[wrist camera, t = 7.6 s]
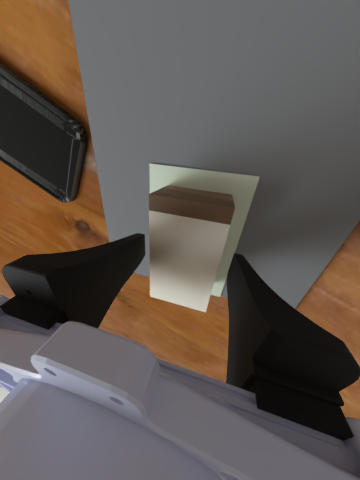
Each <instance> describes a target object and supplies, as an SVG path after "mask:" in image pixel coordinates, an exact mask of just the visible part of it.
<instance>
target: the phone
mask: <svg viewBox="0 0 360 480" xmlns="http://www.w3.org/2000/svg"><path fill="white" fill-rule="evenodd" d="M86 147H87V134H86V132H85V129H84V127H83V126H82V124H81V123H80V122H79V121H77V120H76V119H75V118H73V117H72V116H71V115H69V114H68V113H67V112H66V111H65V110H63V109H62V108H60V107H59V106H57V105H56V104H55V103H54V102H53V101H52V100H50V99H49V98H48V97H46V96H45V95H43V94H41V92H40V91H38V90H37V89H36V88H34V87H33V86H32V85H29V84H28V83H26V82H25V81H24V80H22V79H21V78H19V77H18V76H17V75H15V74H14V73H13V72H11V71H10V70H9V69H7V68H6V67H5V66H3V65H2V64H1V63H0V160H1V161H2V162H4V163H5V164H6V165H8V166H9V167H11V168H12V169H14V170H15V171H17V172H18V173H20V174H21V175H23V176H24V177H25V178H27V179H28V180H30V181H31V182H33V183H34V184H36V185H37V186H39V187H40V188H42V189H43V190H44V191H46V192H47V193H49V194H50V195H52V196H53V197H55V198H56V199H58V200H59V201H61V202H64V203H66V202H70V201H73V200H75V199H76V196H77V192H78V187H79V182H80V177H81V172H82V167H83V162H84V157H85V152H86Z"/></svg>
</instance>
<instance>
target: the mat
mask: <svg viewBox="0 0 360 480" xmlns="http://www.w3.org/2000/svg"><path fill="white" fill-rule="evenodd" d="M68 2H69V8H70V13H71V19H72V25H73V31H74V37H75V43H76V49H77V55H78V60H79V66H80V72H81V78H82V84H83V90H84V96H85V102H86V108H87V113H88V119H89V125H90V131H91V137H92V143H93V149H94V155H95V161H96V166H97V172H98V178H99V184H100V190H101V196H102V202H103V208H104V214H105V219H106V225H107V231H108V237H109V243H110V242H113V241H116V240H119V239H121V238H124V237H127V236H130V235H133V234H136V233H140V234H145V256H144V258H143V260H142V262H141V263H140V265H139V266H138V267H137V269H136V270H135V271H134V272H133V273H136V274H140V275H143V276H147V277H150V254H149V194H150V169H149V164H159V165H167V166H176V167H184V168H193V169H201V170H209V171H218V172H226V173H235V174H243V175H252V176H259V177H260V178H259V181H258V184H257V187H256V190H255V193H254V196H253V199H252V202H251V205H250V208H249V211H248V214H247V217H246V220H245V223H244V226H243V229H242V232H241V235H240V238H239V241H238V244H237V248H236V251H235V253H236V254H241V255H243V256H244V257H245V258H246V260H247V261H248V262H249V264H250V265H251V266H252V268H253V269H254V270H255V271H256V273H257V274H258V275H259V276H260V277H261V278H262V279H263V281H264V282H265V283H266V284H267V285H268V286H269V287H270V288H271V289H272V290H273V291H274V292H275V293H276V294H278V295H279V296H280V297H281V298H282V299H283V300H284V301H286V302H287V303H288V304H289V305H291V306H292V307H293V308H294V309H295V308H296V306H297V305H298V304H299V302H300V301H301V300H302V298H303V297H304V296H305V294H306V293H307V292H308V290H309V289H310V288H311V286H312V285H313V283H314V282H315V281H316V279H317V278H318V277H319V275H320V274H321V273H322V271H323V270H324V269H325V267H326V266H327V265H328V263H329V262H330V261H331V259H332V258H333V256H334V255H335V254H336V252H337V251H338V250H339V248H340V247H341V246H342V244H343V243H344V242H345V240H346V239H347V238H348V236H349V235H350V234H351V232H352V231H353V229H354V228H355V227H356V225H357V224H358V223H359V221H360V0H68ZM221 296H224V297H228V296H227V278H226V281H225V284H224V287H223V290H222V293H221Z"/></svg>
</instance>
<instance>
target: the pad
mask: <svg viewBox="0 0 360 480" xmlns="http://www.w3.org/2000/svg"><path fill="white" fill-rule="evenodd" d="M149 169H150V193H152V192H154V191H157V190H159V189H161V188H163V187H165V186H167V185H169V186H176V187H183V188H190V189H197V190H204V191H210V192H217V193H224V194H231V195H232V197H233V201H234V205H235V210H234V214H233V217H232V221H231V224H230V228H229V232H228V235H227V239H226V242H225V246H224V249H223V253H222V256H221V260H220V263H219V267H218V270H217V274H216V277H215V281H214V285H213V288H212V292H211V295H214V296H218V297H220V296H221V293H222V290H223V287H224V284H225V281H226V278H227V273H228V270H229V267H230V264H231V261H232V258H233V255H234V253H235V251H236V248H237V244H238V241H239V238H240V235H241V232H242V229H243V226H244V223H245V220H246V217H247V214H248V211H249V208H250V205H251V202H252V199H253V196H254V193H255V190H256V187H257V184H258V181H259V178H260V177H259V176H252V175H243V174H235V173H226V172H218V171H209V170H201V169H193V168H184V167H176V166H167V165H159V164H149Z"/></svg>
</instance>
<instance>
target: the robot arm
mask: <svg viewBox="0 0 360 480" xmlns="http://www.w3.org/2000/svg"><path fill="white" fill-rule="evenodd" d="M144 256H145V234H140V233H136V234H133V235H130V236H127V237H124V238H121V239H119V240H116V241H113V242H110V243H107V244H103V245H100V246H96V247H92V248H88V249H82V250H77V251H71V252H63V253H53V254H37V255H26V256H23V257H21V258H19V259H17V260H15V261H13V262H11V263H9V264H7V265H5V266H4V267H3V270H2V273H3V276H4V278H5V280H6V281H7V283H8V284H9V286H10V287H11V289H12V290H13V292H14V293H15V295H16V296H15V297H13V298H12V299H9V298H7V297H6V296H3V295H0V387H2V388H4V389H6V390H8V391H9V392H10V393H9V394H8V395H7V396H6V397H5V399H4V400H3V401H2V402H1V403H0V480H360V420H359V419H355V418H345V416H344V414H343V412H342V410H341V408H340V406H343V405H344V402H343V400H342V398H341V396H340V394H339V391H341V390H342V389H344V388H346V387H347V386H349V385H351V384H353V383H354V382H355V381H356V380H358V378H359V376H360V367H359V365H358V363H357V362H356V360H355V359H354V357H353V356H352V354H351V353H350V351H349V350H348V348H347V347H346V345H345V344H344V342H343V341H342V340H340V339H338V338H337V337H335V336H334V335H332V334H331V333H329V332H327V331H326V330H324V329H323V328H321V327H320V326H318V325H316V324H315V323H314V322H312V321H311V320H309V319H308V318H307V317H305V316H304V315H302V314H301V313H300V312H298V311H297V310H296V309H294V308H293V307H292V306H291V305H289V304H288V303H287V302H286V301H284V300H283V299H282V298H281V297H280V296H279V295H278V294H276V293H275V292H274V291H273V290H272V289H271V288H270V287H269V286H268V285H267V284H266V283H265V282H264V281H263V279H262V278H261V277H260V276H259V275H258V274H257V273H256V271H255V270H254V269H253V268H252V266H251V265H250V264H249V262H248V261H247V260H246V258H245V257H244V256H243V255H241V254H236V253H234V255H233V258H232V261H231V264H230V267H229V270H228V273H227V296H228V308H229V345H228V365H227V380H226V383H224V382H222V381H219V380H216V379H213V378H210V377H208V376H205V375H202V374H199V373H197V372H194V371H191V370H188V369H185V368H183V367H180V366H177V365H174V364H171V363H169V362H166V361H163V360H160V359H158V358H156V356H155V354H153V353H152V352H151V351H150V350H149V349H148V348H147V347H145V346H143V345H141V344H139V343H137V342H135V341H132V340H129V339H126V338H123V337H120V336H118V335H115V334H112V333H109V332H106V331H103V330H100V329H98V327H99V325H100V323H101V322H102V320H103V318H104V316H105V314H106V313H107V311H108V309H109V307H110V306H111V304H112V302H113V301H114V299H115V297H116V296H117V294H118V293H119V291H120V289H121V288H122V287H123V285H124V284H125V283H126V281H127V280H128V279H129V277H130V276H131V275H132V274H133V272H134V271H135V270H136V269H137V267H138V266H139V265H140V263H141V262H142V260H143V258H144Z"/></svg>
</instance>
